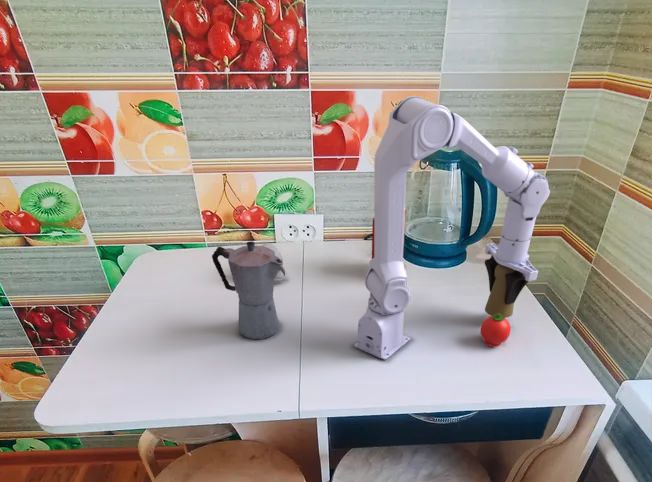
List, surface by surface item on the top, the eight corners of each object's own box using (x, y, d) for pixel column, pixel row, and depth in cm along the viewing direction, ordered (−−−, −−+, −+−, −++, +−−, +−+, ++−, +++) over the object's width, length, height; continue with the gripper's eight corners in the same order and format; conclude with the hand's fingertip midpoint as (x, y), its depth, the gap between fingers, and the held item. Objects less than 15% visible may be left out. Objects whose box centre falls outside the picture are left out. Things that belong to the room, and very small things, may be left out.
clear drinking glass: (242, 278, 120) (238, 250, 115) (263, 266, 126) (260, 239, 121) (273, 289, 116) (270, 261, 111) (294, 277, 121) (292, 249, 116)
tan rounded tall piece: (510, 304, 104) (521, 258, 97) (515, 318, 100) (527, 271, 93) (483, 303, 105) (492, 257, 98) (486, 317, 100) (496, 270, 93)
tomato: (500, 353, 94) (507, 325, 90) (473, 343, 97) (478, 315, 93) (511, 340, 98) (519, 312, 94) (485, 330, 101) (491, 303, 97)
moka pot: (284, 345, 97) (273, 254, 84) (215, 337, 99) (195, 248, 87) (297, 321, 104) (289, 234, 91) (232, 314, 107) (216, 229, 94)
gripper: (557, 246, 87) (539, 309, 96) (510, 220, 98) (497, 279, 106) (527, 252, 85) (511, 316, 94) (481, 225, 96) (471, 285, 104)
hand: (501, 297), depth 100 cm, fingers closed on tan rounded tall piece, 5 cm apart
